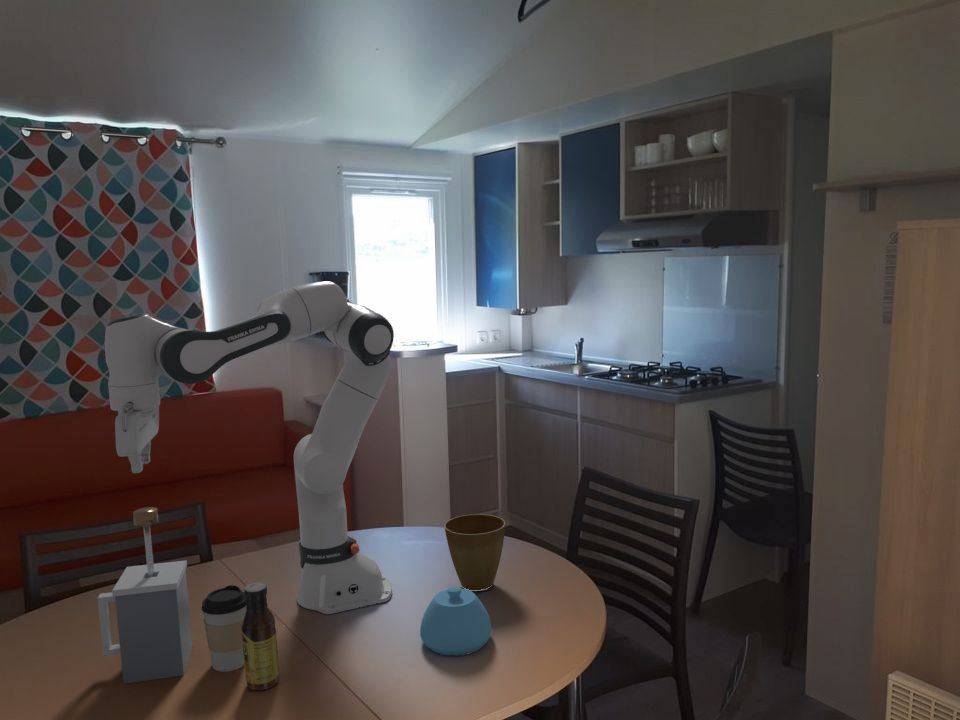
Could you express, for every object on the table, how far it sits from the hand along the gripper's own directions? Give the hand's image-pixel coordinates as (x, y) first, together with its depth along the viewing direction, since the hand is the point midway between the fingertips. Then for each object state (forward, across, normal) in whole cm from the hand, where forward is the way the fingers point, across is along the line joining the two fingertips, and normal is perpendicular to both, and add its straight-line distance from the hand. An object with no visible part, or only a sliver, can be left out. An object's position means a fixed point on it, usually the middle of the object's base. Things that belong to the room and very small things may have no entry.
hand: (141, 467), depth 146 cm
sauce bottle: (+41, -13, -21) cm, 48 cm away
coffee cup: (+41, -3, -14) cm, 44 cm away
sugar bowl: (+41, -7, -60) cm, 73 cm away
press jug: (+41, 0, +2) cm, 41 cm away
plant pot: (+41, +18, -70) cm, 83 cm away
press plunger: (+30, 0, 0) cm, 30 cm away
